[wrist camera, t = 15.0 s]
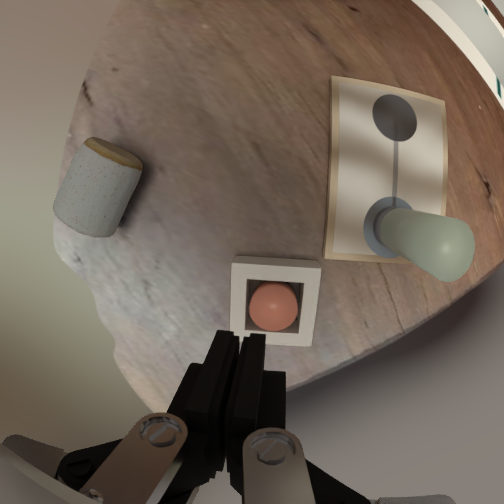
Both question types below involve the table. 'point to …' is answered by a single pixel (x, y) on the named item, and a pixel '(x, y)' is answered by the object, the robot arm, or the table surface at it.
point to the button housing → (275, 271)
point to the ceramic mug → (97, 188)
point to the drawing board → (381, 163)
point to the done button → (273, 305)
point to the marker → (427, 240)
